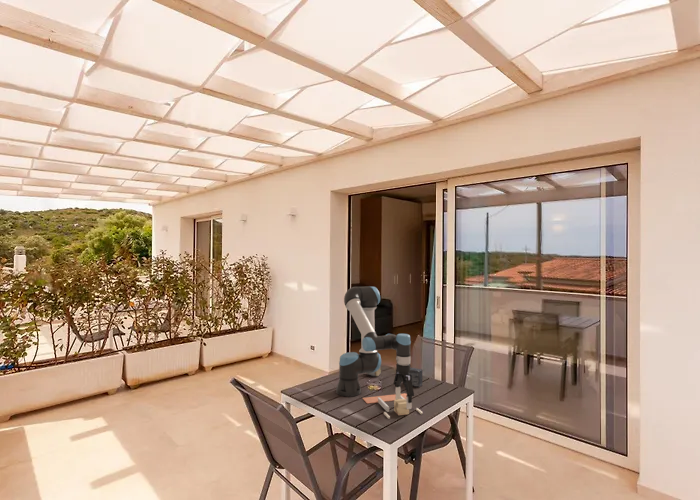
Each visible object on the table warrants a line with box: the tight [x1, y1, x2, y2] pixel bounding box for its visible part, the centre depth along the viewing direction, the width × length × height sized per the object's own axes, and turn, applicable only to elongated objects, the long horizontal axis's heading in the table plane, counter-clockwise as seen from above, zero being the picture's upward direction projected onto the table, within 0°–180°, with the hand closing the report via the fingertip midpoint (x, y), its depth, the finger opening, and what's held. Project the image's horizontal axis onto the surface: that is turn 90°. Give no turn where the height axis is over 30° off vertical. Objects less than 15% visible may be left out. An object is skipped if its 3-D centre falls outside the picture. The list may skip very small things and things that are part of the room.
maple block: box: [393, 399, 410, 416], centre depth 196 cm, size 6×6×6 cm
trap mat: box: [362, 392, 407, 405], centre depth 215 cm, size 8×28×1 cm, turn 107°
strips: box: [383, 407, 424, 419], centre depth 194 cm, size 6×20×1 cm, turn 107°
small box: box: [408, 366, 423, 388], centre depth 239 cm, size 11×6×10 cm, turn 58°
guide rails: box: [378, 396, 406, 413], centre depth 205 cm, size 14×14×2 cm
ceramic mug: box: [366, 367, 382, 377], centre depth 258 cm, size 11×8×8 cm
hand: (403, 403), depth 194 cm, fingers open, 13 cm apart
